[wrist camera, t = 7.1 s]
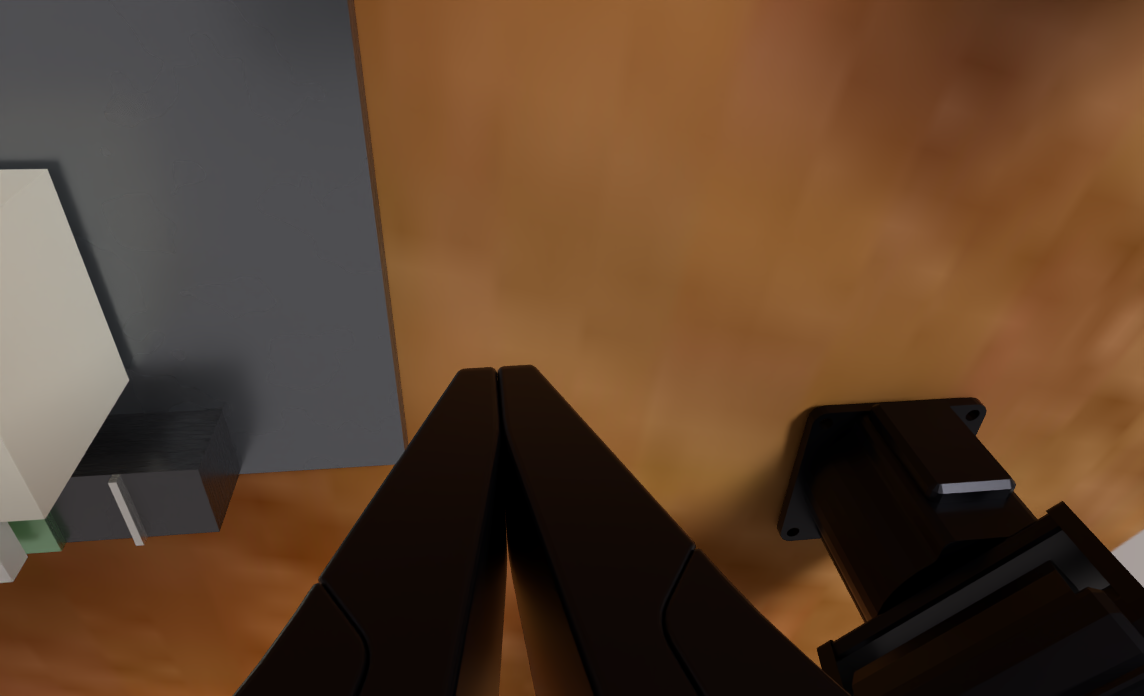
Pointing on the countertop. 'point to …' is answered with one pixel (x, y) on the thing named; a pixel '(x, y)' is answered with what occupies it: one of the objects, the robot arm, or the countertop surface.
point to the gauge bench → (210, 245)
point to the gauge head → (45, 356)
